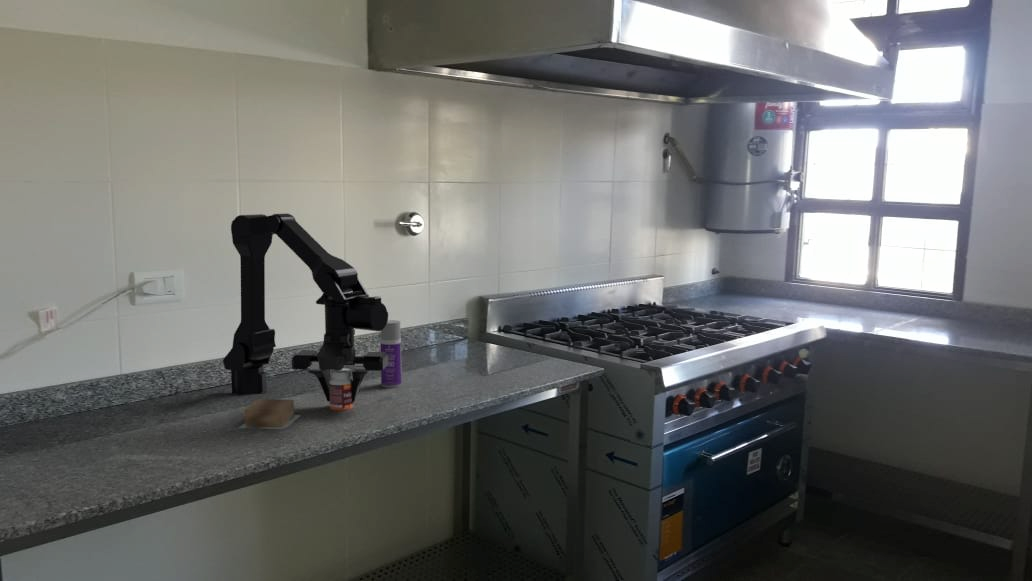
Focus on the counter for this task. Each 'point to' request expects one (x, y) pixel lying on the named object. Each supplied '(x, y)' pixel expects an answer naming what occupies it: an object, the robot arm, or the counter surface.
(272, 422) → the walnut block
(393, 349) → the container
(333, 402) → the pill bottle
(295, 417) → the plate
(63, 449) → the counter surface
